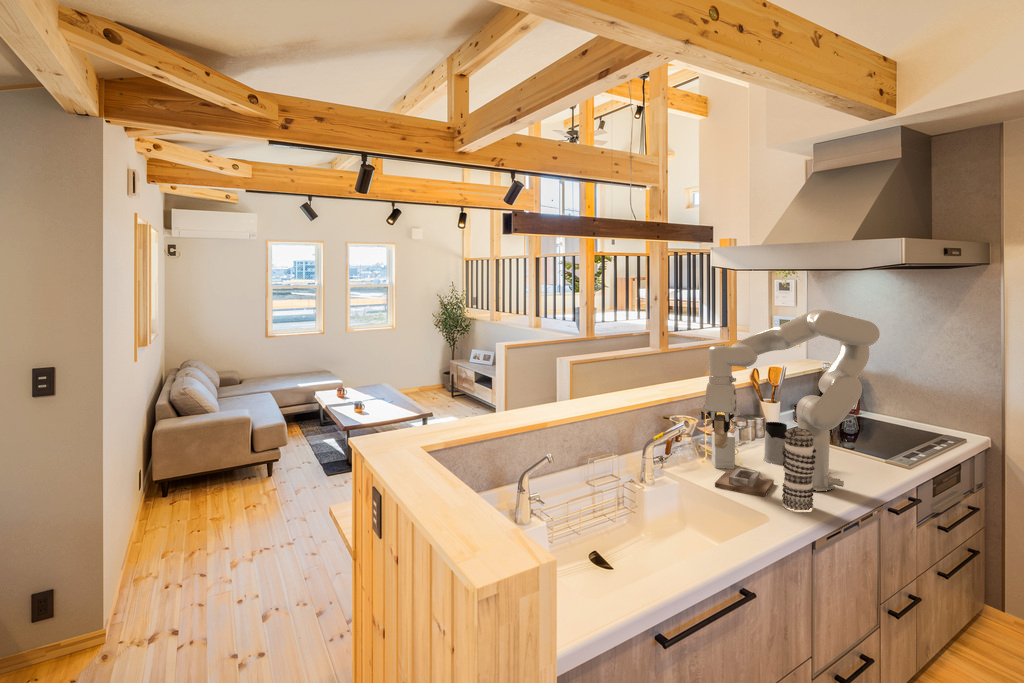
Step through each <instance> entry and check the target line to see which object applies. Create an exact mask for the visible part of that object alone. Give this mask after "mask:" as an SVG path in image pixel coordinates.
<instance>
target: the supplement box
mask: <svg viewBox="0 0 1024 683" xmlns="http://www.w3.org/2000/svg"><path fill="white" fill-rule="evenodd" d="M727 433H728V445H727V446H726V447H725V448H724V449H723V448H716V447H715V432H714V431H712V432H711V464H712V466H713V467H714V468H715V469H725V468H727V470H730V469H731V470H734V469H735V468H736V467H735V464H736V463H735V462H736V461H735V460H736V459H735V458H736V456H735V455H736V437H735V435H734V434H733V433H732V432H729V431H728V432H727Z"/></svg>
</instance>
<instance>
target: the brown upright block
mask: <svg viewBox="0 0 1024 683" xmlns="http://www.w3.org/2000/svg"><path fill="white" fill-rule="evenodd" d="M724 421H725V414H721V413H720V414H719V413H717V416H715V417H714V428H713V432H715V447H716V448H723V449H724V448H725V447H726V446H727V445H728V433H727V432H726V433H725V432H724Z"/></svg>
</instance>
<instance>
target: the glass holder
mask: <svg viewBox="0 0 1024 683" xmlns="http://www.w3.org/2000/svg"><path fill="white" fill-rule="evenodd" d="M787 429H788V425H787V424H786V423H784V422H778V421H770V422H769V421H768V422H765V429H764V457H763V458H762V459H763V461H764V462H765V461H766V462H765V463H768V464H771V463H772V464H773V465H783V462H784V461H783V457H784V456H783V454H782V452H783V450H782V446H784V445H785V442H786V434H785V432H787V431H788V430H787ZM785 449H786V448H785ZM785 454H786V452H785ZM785 460H786V459H785Z"/></svg>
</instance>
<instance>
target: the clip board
mask: <svg viewBox="0 0 1024 683" xmlns="http://www.w3.org/2000/svg"><path fill="white" fill-rule="evenodd" d="M760 473H761V472H760V471H757V470H751V469H745V468H740V467H737V468H736V469H735V470H734V471H727V470H726V471H725V472H724V473H722V475H721V476H720V477H719V478H718V479H717V480H716V481H715V482H714V487H715V488H718V489H719V488H720V489H722V490H723V489H724V490H727V491H728V490H729V491H734V492H739V493H744V494H748V495H754V496H758V497H763V498H765V497H766V496H767V494H768V493H769V491H770V490H771V488H772V487H773V486H774V484H775V480H774V479H771V478H764V477H761V474H760Z"/></svg>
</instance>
